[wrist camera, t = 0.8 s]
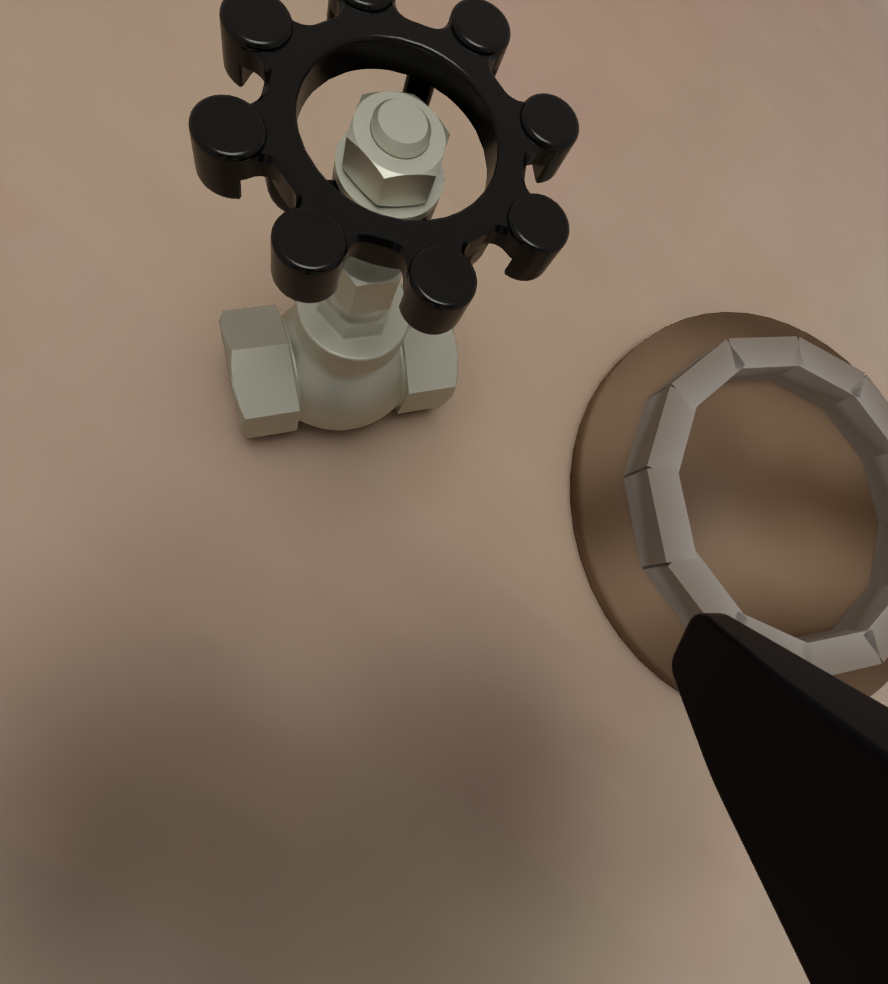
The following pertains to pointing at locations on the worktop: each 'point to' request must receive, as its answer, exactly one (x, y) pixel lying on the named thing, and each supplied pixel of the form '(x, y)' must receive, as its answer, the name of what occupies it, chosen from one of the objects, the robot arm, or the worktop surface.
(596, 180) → the worktop surface
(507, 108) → the valve
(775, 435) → the collar base
